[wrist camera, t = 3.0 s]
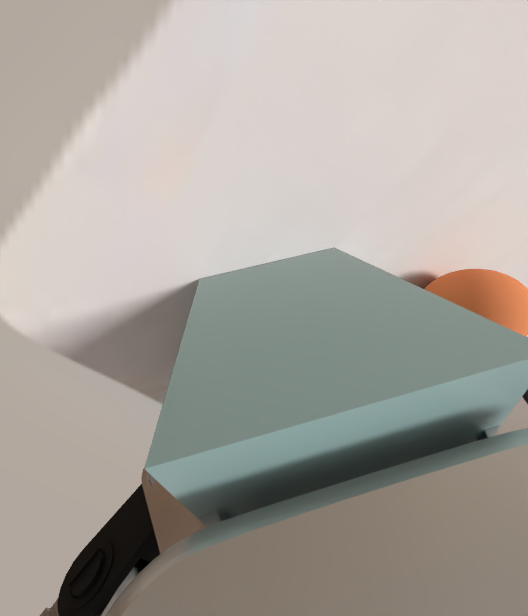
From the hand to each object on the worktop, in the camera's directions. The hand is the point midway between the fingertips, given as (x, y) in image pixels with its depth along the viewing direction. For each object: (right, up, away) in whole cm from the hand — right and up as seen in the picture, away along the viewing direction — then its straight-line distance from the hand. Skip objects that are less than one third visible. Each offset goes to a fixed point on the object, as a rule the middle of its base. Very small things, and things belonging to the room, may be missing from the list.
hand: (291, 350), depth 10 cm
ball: (+11, +2, +2) cm, 11 cm away
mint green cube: (-1, +1, +3) cm, 3 cm away
